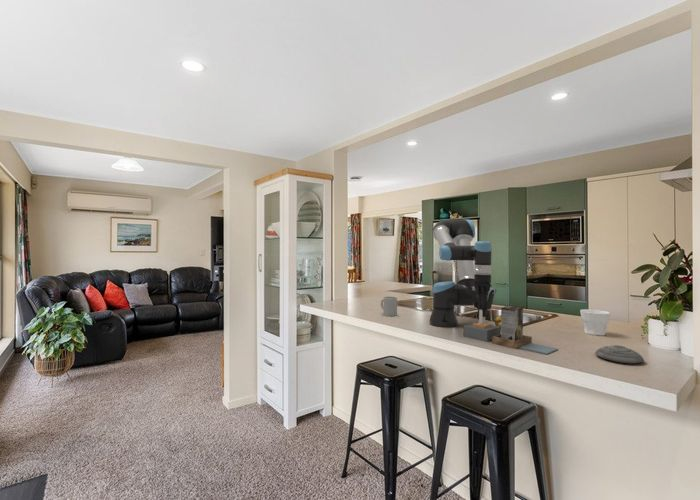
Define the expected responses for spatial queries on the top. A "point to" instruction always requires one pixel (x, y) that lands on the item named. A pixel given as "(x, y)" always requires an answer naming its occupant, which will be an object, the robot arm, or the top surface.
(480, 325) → the release button
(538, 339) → the top surface
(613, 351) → the grey flat stone
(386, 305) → the mug
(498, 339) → the wooden tray
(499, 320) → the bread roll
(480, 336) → the button housing
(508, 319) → the coffee box
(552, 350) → the slate mat
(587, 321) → the cup
